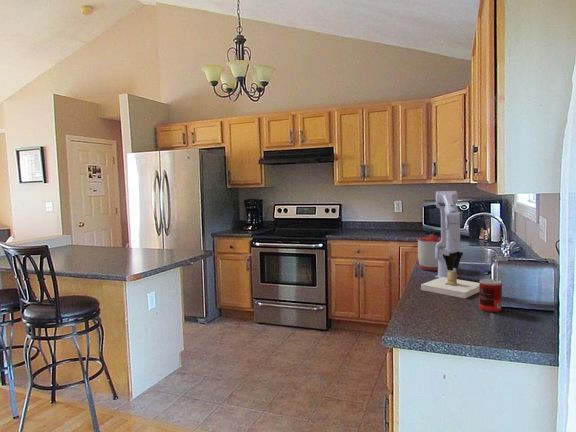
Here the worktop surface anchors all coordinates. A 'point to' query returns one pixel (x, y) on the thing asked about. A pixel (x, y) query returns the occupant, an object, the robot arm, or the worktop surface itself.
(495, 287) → the canned food
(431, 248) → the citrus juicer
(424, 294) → the worktop surface
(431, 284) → the holder board
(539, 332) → the worktop surface
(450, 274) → the maple dowel
